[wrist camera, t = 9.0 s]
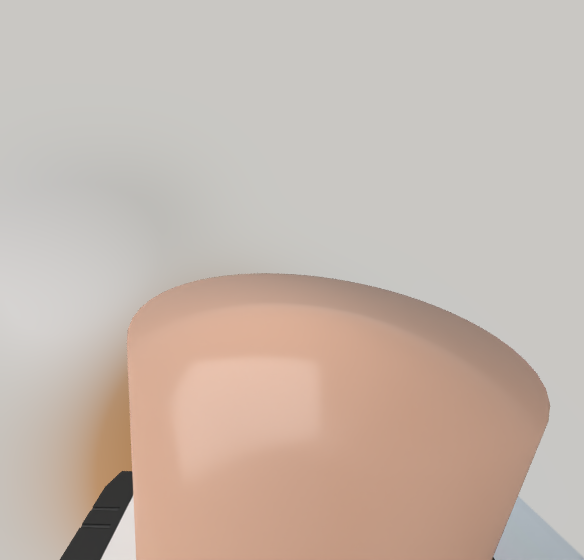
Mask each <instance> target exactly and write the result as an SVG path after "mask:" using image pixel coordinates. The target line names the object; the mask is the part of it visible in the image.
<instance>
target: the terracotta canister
mask: <svg viewBox="0 0 584 560" xmlns="http://www.w3.org/2000/svg"><path fill="white" fill-rule="evenodd" d="M127 357H128V380H129V401H130V402H129V403H130V427H131V450H132V474H133V498H134V521H135V545H136V560H492V558H493V556H494V553H495V551H496V548H497V546H498V543H499V541H500V538H501V536H502V534H503V531H504V529H505V526H506V524H507V521H508V519H509V516H510V514H511V511H512V509H513V507H514V504H515V502H516V499H517V497H518V494H519V492H520V489H521V487H522V484H523V482H524V479H525V477H526V475H527V472H528V470H529V467H530V465H531V463H532V460H533V458H534V455H535V453H536V450H537V448H538V445H539V443H540V440H541V438H542V436H543V433H544V431H545V428H546V426H547V423H548V420H549V410H550V403H549V399H548V395H547V392H546V388H545V387H544V385H543V383H542V382H541V380H540V378H539V376H538V375H537V373H536V372H535V371H534V370H533V369H532V367H531V366H530V365H529V364H528V363H527V362H526V361H525V360H524V359H523V358H522V357H521V356H520V355H519V354H518V353H516V352H515V351H514V350H513V349H512V348H511V347H509V346H508V345H507V344H505V343H504V342H502V341H501V340H500V339H498V338H497V337H495V336H494V335H492V334H490V333H489V332H487V331H486V330H484V329H482V328H480V327H479V326H477V325H475V324H473V323H471V322H469V321H468V320H465V319H463V318H461V317H459V316H457V315H455V314H452V313H451V312H448V311H446V310H443V309H441V308H439V307H436V306H434V305H431V304H428V303H426V302H423V301H420V300H417V299H414V298H411V297H408V296H405V295H402V294H398V293H395V292H392V291H388V290H384V289H381V288H377V287H372V286H368V285H363V284H359V283H354V282H349V281H343V280H337V279H330V278H324V277H315V276H307V275H294V274H267V273H264V274H263V273H262V274H238V275H227V276H219V277H213V278H207V279H202V280H197V281H194V282H190V283H186V284H183V285H180V286H177V287H174V288H172V289H170V290H167V291H165V292H163V293H161V294H159V295H158V296H156V297H154V298H153V299H151V300H149V301H148V302H147V303H146V304H145V305H143V307H141V308H140V309H139V311H138V312H137V313H136V314H135V316H134V317H133V318H132V321H131V323H130V326H129V328H128V335H127Z"/></svg>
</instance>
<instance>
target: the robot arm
mask: <svg viewBox="0 0 584 560" xmlns="http://www.w3.org/2000/svg"><path fill="white" fill-rule="evenodd" d="M60 560H136V545H135V521H134V498H133V474H132V471H122V472H121V473H119V474H118V475H117V476H116V477H115V478H114V479H113V480H112V481H111V482H110V483H109V484H108V485H107V486H106V487H105V488H104V490H103V491H102V493H101V494H100V496H99V498H98V499H97V501H96V503H95V504H94V506H93V509H92V510H91V511H90V512H89V514H88V515H87V517H86V519H85V520H84V522H83V524H82V527H81V528H79V530H78V531H77V533H76V535H75V536H74V538H73V539H72V541H71V543H70V544H69V546H68V547H67V549H66V551H65V552H64V554H63V555H62V557H61V559H60ZM492 560H495V559H494V557H493V558H492Z"/></svg>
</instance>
